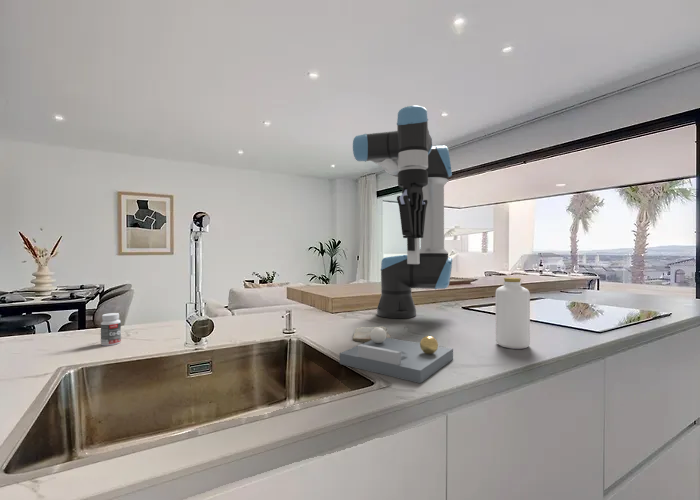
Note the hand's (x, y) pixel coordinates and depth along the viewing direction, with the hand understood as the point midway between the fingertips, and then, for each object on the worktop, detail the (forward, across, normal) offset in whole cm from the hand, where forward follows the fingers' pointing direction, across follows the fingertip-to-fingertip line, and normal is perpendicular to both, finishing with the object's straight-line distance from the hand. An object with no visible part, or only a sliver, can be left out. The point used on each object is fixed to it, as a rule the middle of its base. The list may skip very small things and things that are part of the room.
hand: (413, 263), depth 90 cm
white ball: (+18, +6, -7) cm, 20 cm away
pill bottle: (+23, +41, -74) cm, 87 cm away
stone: (+23, -6, -16) cm, 29 cm away
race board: (+22, +9, 0) cm, 24 cm away
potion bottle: (+23, -20, +19) cm, 36 cm away
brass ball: (+18, +7, +7) cm, 21 cm away
